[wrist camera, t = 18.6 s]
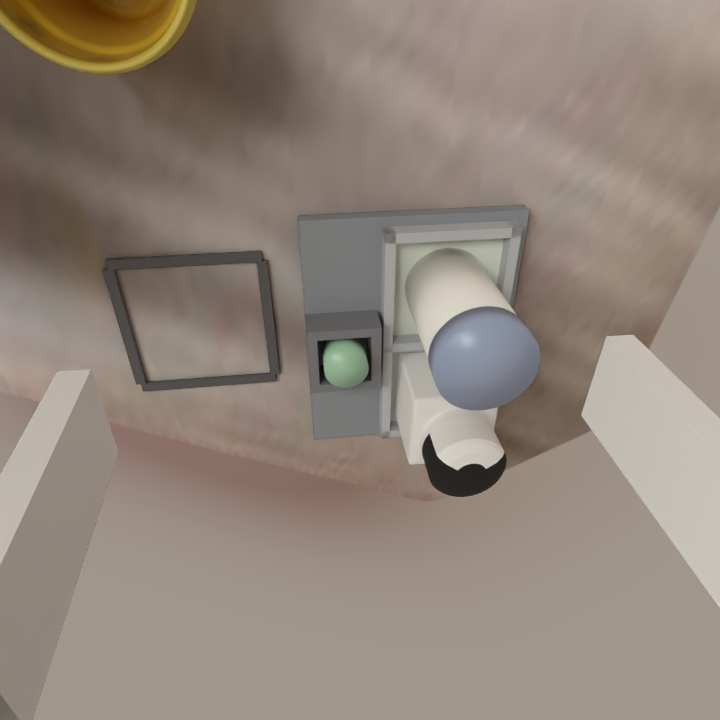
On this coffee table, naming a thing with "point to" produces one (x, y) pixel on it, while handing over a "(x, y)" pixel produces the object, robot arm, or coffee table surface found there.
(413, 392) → the medicine bottle
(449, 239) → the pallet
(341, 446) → the coffee table surface
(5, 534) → the robot arm
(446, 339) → the cream and blue canister
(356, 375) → the button
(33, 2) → the plant pot
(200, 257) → the frame
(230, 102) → the coffee table surface
